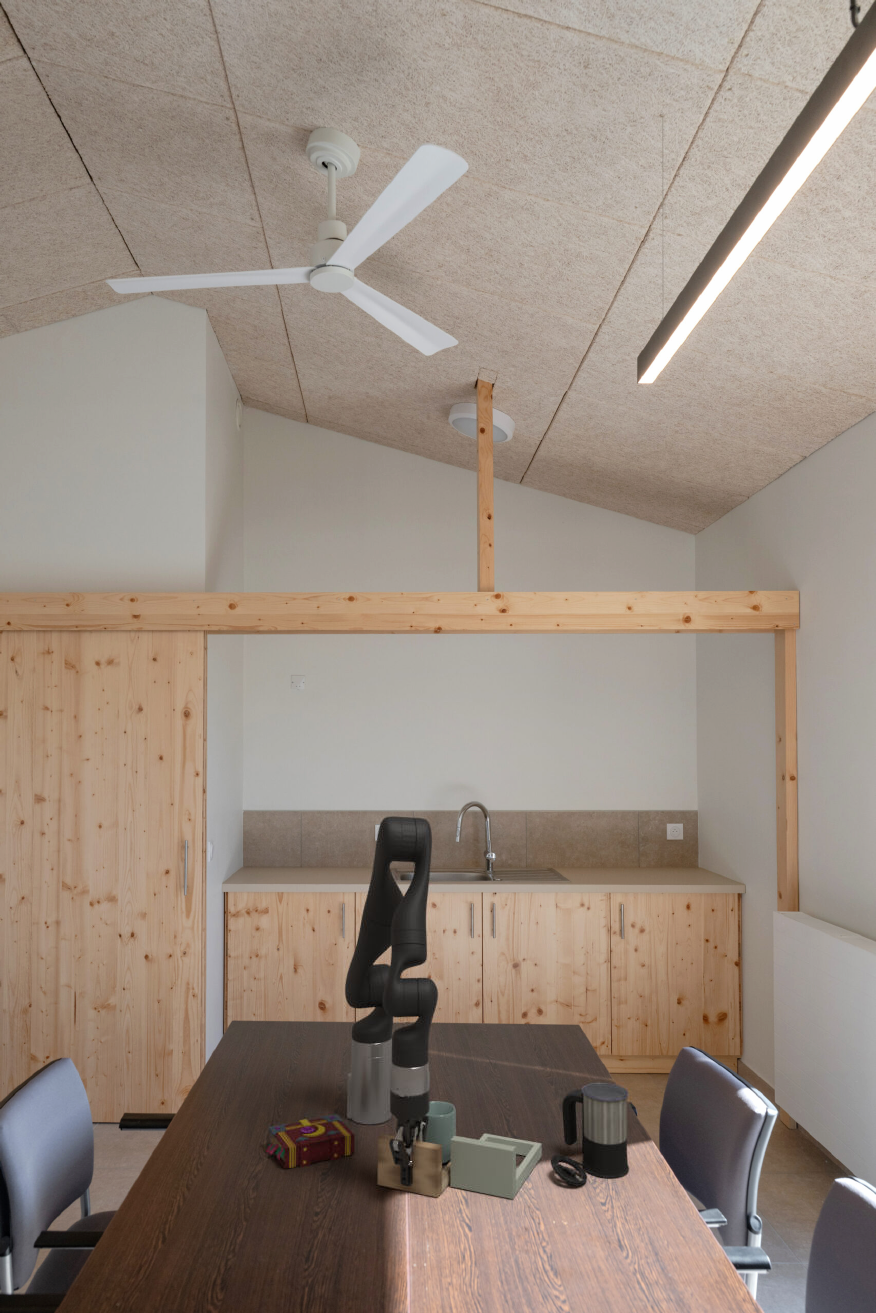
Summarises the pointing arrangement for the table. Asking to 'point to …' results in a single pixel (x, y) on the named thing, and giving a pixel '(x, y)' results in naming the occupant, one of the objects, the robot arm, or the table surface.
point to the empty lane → (492, 1164)
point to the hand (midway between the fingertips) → (409, 1180)
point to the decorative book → (311, 1141)
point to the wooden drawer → (414, 1168)
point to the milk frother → (595, 1133)
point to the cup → (441, 1126)
